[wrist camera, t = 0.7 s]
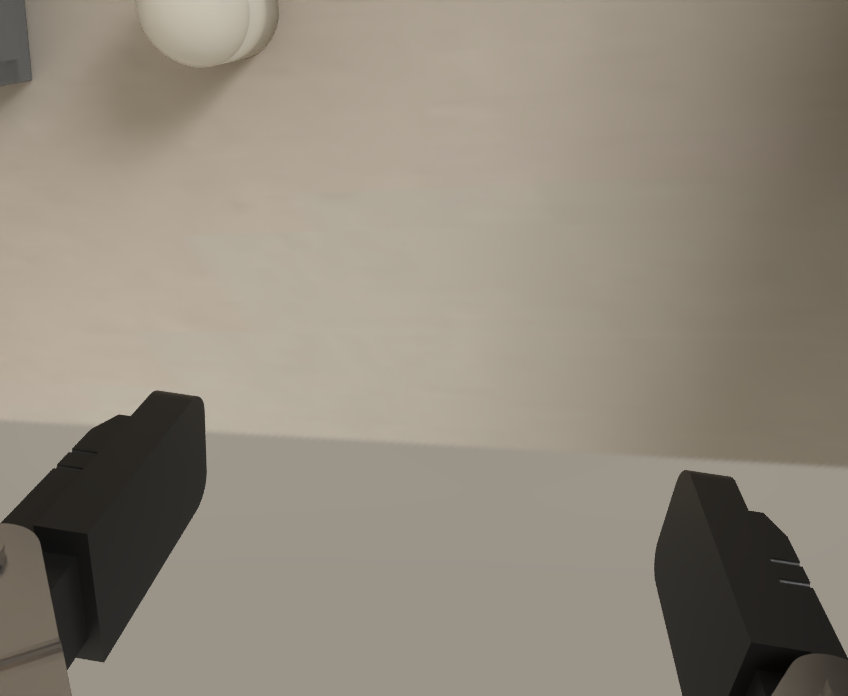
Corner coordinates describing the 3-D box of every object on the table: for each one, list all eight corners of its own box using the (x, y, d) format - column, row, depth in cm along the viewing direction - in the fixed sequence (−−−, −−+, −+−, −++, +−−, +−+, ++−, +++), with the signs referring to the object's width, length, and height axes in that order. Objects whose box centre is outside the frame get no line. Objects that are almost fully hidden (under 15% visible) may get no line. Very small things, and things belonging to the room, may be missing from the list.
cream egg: (180, -58, 32) (110, -69, 26) (281, -43, 32) (231, -50, 26) (182, 51, 34) (116, 63, 28) (276, 66, 33) (229, 80, 28)
